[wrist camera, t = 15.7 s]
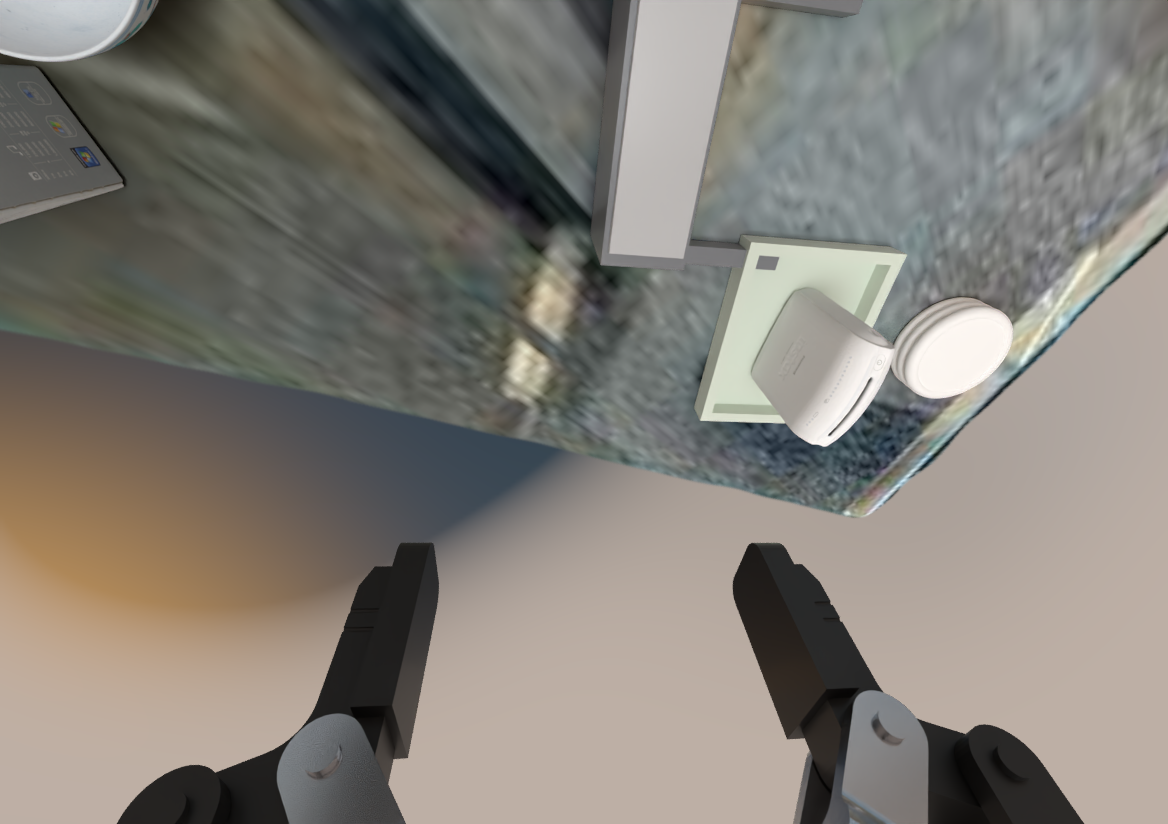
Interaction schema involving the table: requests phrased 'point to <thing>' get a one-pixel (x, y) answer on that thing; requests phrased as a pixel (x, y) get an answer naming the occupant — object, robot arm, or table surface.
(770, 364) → the photo printer
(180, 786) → the robot arm
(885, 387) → the table surface
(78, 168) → the hard drive box
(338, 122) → the table surface
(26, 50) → the chinaware
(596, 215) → the dock
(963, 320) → the white round puck
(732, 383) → the tray
